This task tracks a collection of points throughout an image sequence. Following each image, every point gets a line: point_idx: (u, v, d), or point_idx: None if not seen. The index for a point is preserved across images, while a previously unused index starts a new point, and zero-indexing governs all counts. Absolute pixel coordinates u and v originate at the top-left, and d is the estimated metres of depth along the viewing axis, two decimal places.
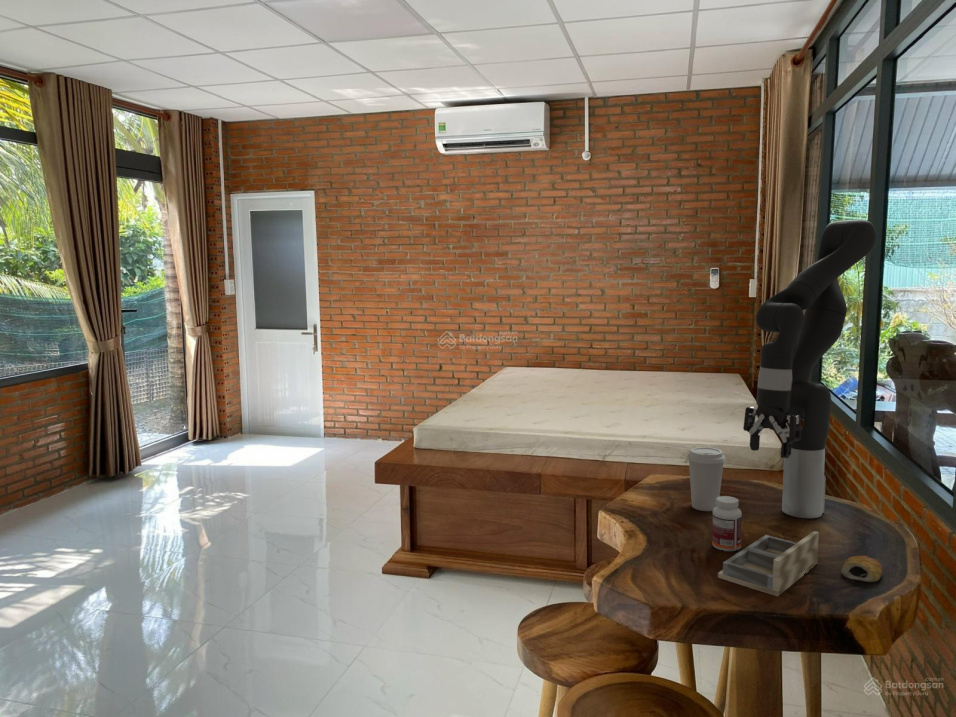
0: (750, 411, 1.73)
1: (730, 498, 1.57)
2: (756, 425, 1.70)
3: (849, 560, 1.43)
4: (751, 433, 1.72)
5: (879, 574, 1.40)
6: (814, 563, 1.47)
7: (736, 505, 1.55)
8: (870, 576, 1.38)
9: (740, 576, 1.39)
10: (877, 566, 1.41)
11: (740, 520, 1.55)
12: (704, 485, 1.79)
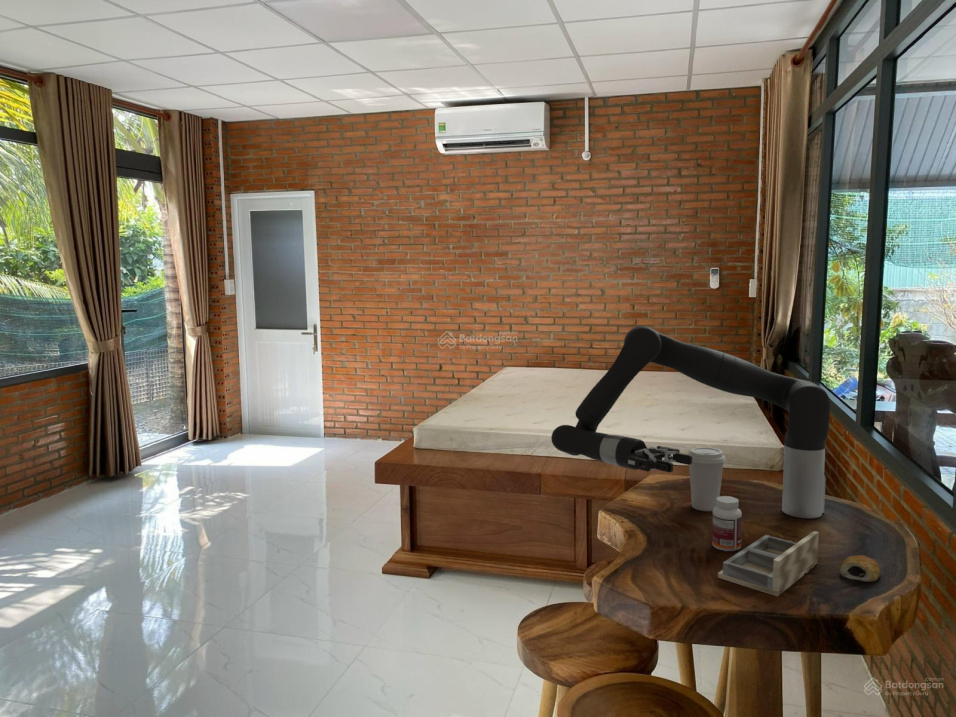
0: None
1: (730, 498, 1.57)
2: None
3: (847, 560, 1.43)
4: (675, 461, 1.70)
5: (877, 574, 1.40)
6: (814, 563, 1.47)
7: (736, 505, 1.55)
8: (869, 576, 1.39)
9: (740, 576, 1.39)
10: (875, 566, 1.41)
11: (740, 520, 1.55)
12: (704, 485, 1.79)
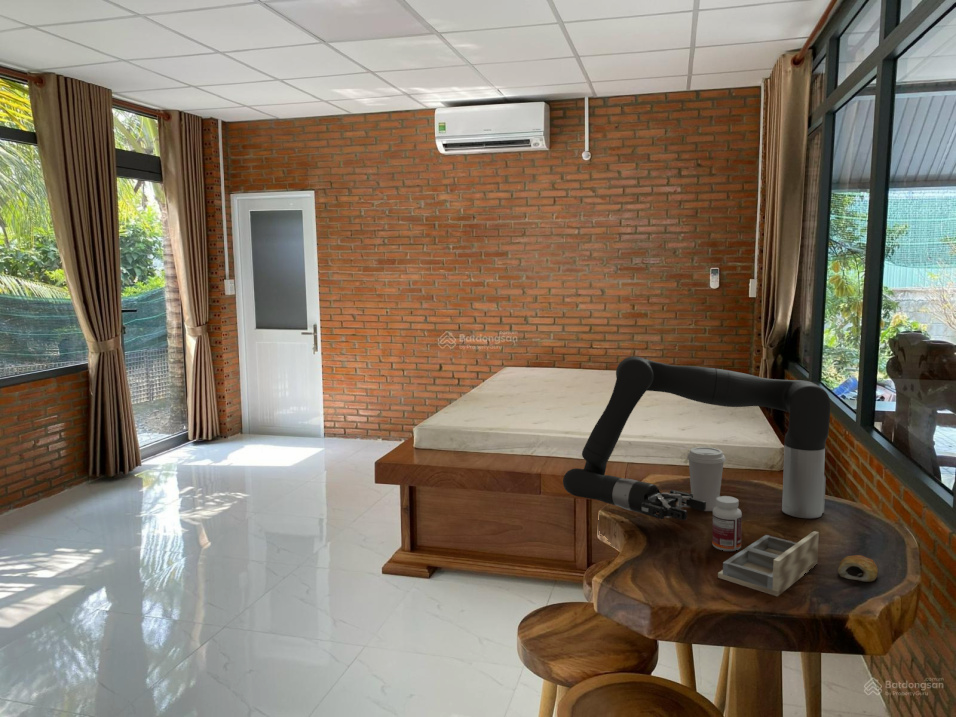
0: None
1: (730, 498, 1.57)
2: None
3: (845, 560, 1.43)
4: (689, 507, 1.69)
5: (875, 573, 1.40)
6: (814, 563, 1.47)
7: (736, 505, 1.55)
8: (867, 575, 1.39)
9: (740, 576, 1.39)
10: (873, 565, 1.41)
11: (740, 520, 1.55)
12: (704, 485, 1.79)
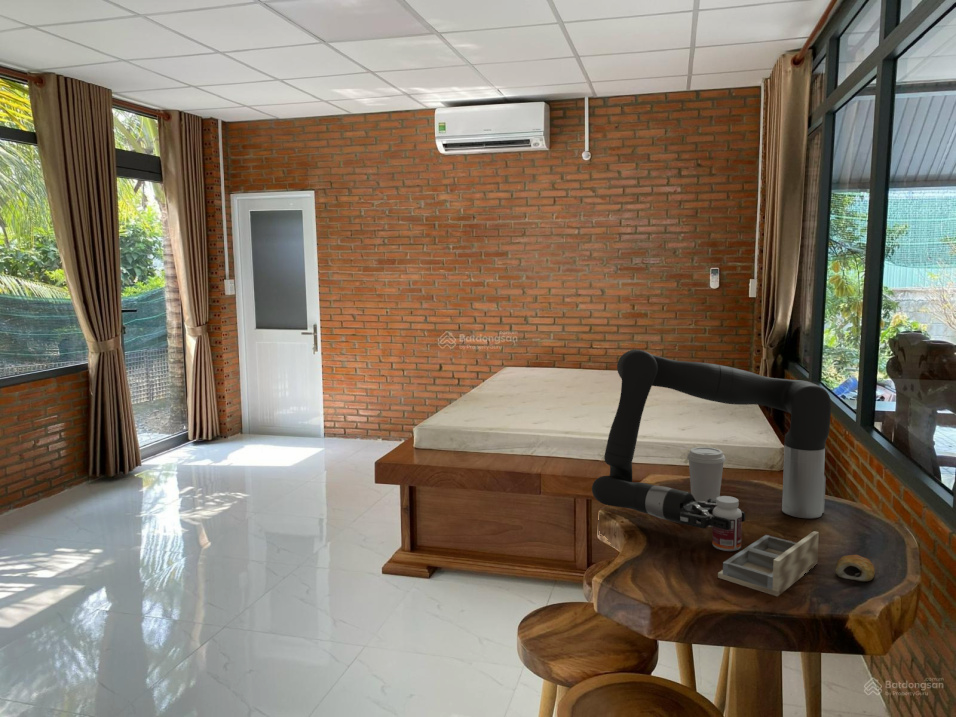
0: None
1: (730, 498, 1.57)
2: None
3: (843, 560, 1.43)
4: None
5: (873, 573, 1.40)
6: (814, 563, 1.47)
7: (736, 505, 1.55)
8: (865, 575, 1.39)
9: (740, 576, 1.39)
10: (870, 565, 1.41)
11: (740, 520, 1.55)
12: (704, 485, 1.79)
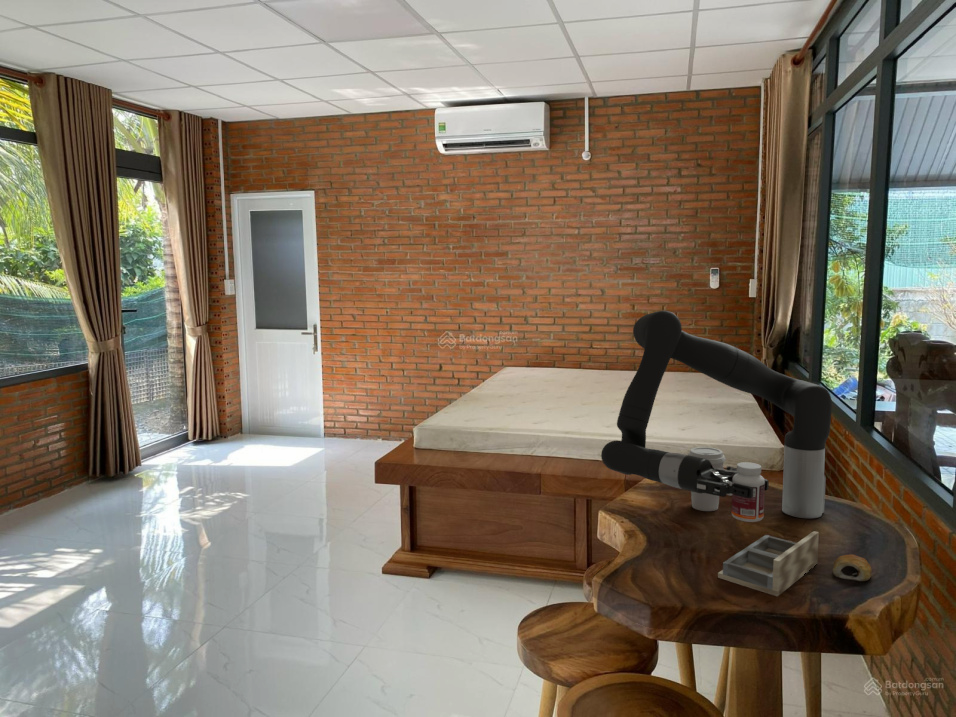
0: None
1: (752, 464, 1.44)
2: None
3: (840, 560, 1.43)
4: None
5: (870, 573, 1.40)
6: (814, 563, 1.47)
7: (759, 471, 1.41)
8: (863, 575, 1.39)
9: (740, 576, 1.39)
10: (867, 565, 1.42)
11: (763, 488, 1.42)
12: None
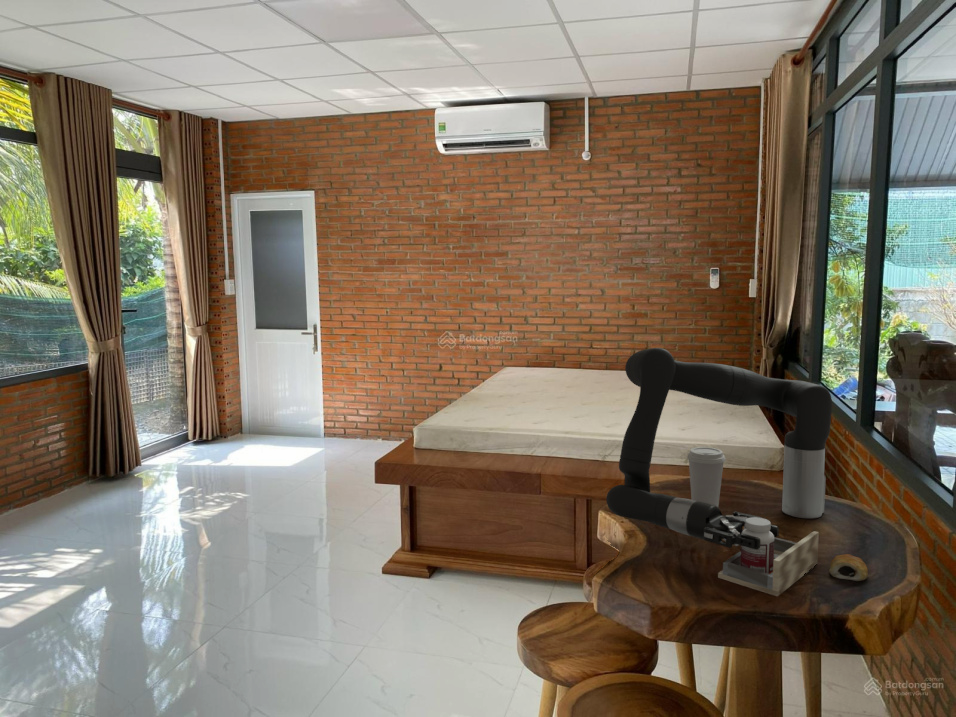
0: None
1: (761, 520, 1.41)
2: None
3: (836, 560, 1.43)
4: None
5: (866, 572, 1.40)
6: (814, 563, 1.47)
7: (768, 528, 1.38)
8: (860, 575, 1.39)
9: (740, 576, 1.39)
10: (863, 564, 1.42)
11: (773, 545, 1.39)
12: (704, 485, 1.79)
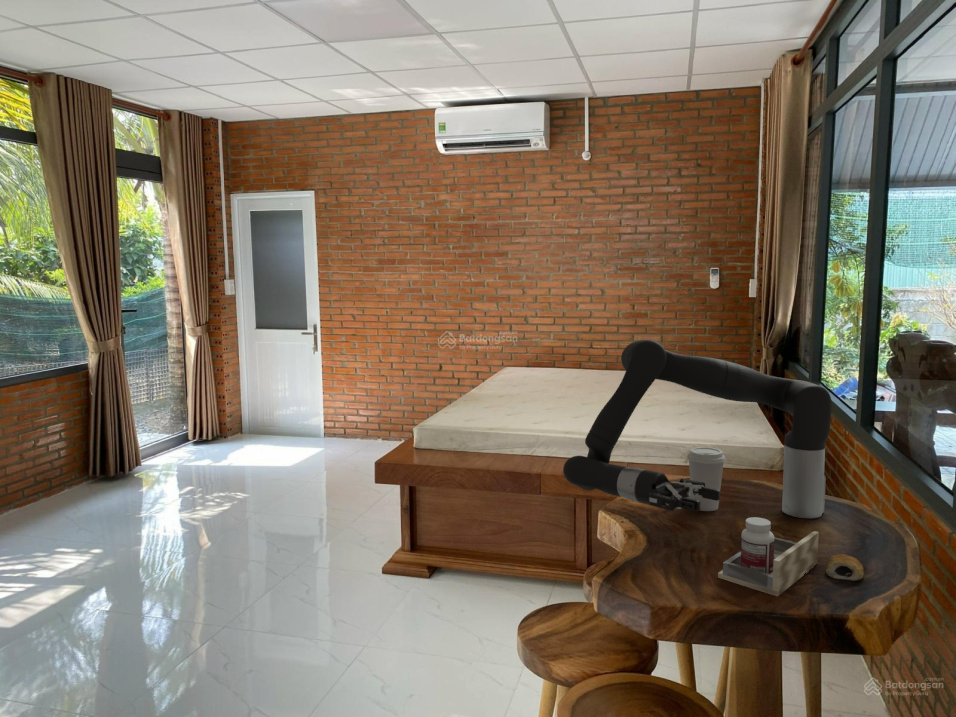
0: None
1: (761, 520, 1.41)
2: None
3: (833, 560, 1.43)
4: (701, 496, 1.54)
5: (863, 572, 1.41)
6: (814, 563, 1.47)
7: (768, 528, 1.38)
8: (857, 574, 1.39)
9: (740, 576, 1.39)
10: (859, 564, 1.42)
11: (773, 545, 1.39)
12: None
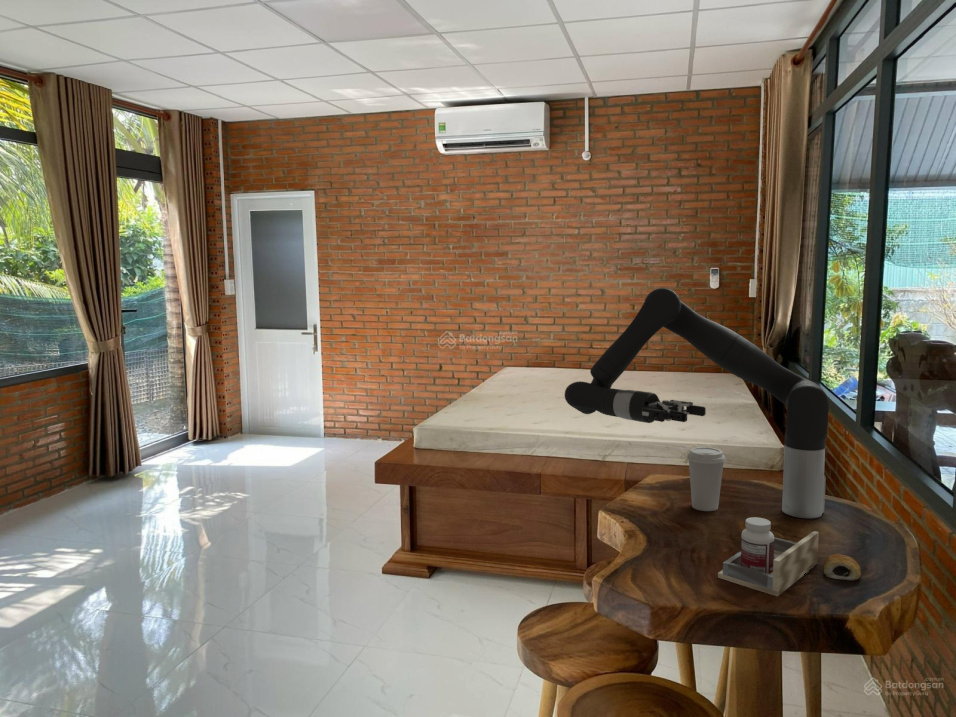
0: None
1: (761, 520, 1.41)
2: None
3: (830, 560, 1.43)
4: (689, 414, 1.71)
5: (860, 571, 1.41)
6: (814, 563, 1.47)
7: (768, 528, 1.38)
8: (854, 574, 1.39)
9: (740, 576, 1.39)
10: (856, 563, 1.42)
11: (773, 545, 1.39)
12: (704, 485, 1.79)
